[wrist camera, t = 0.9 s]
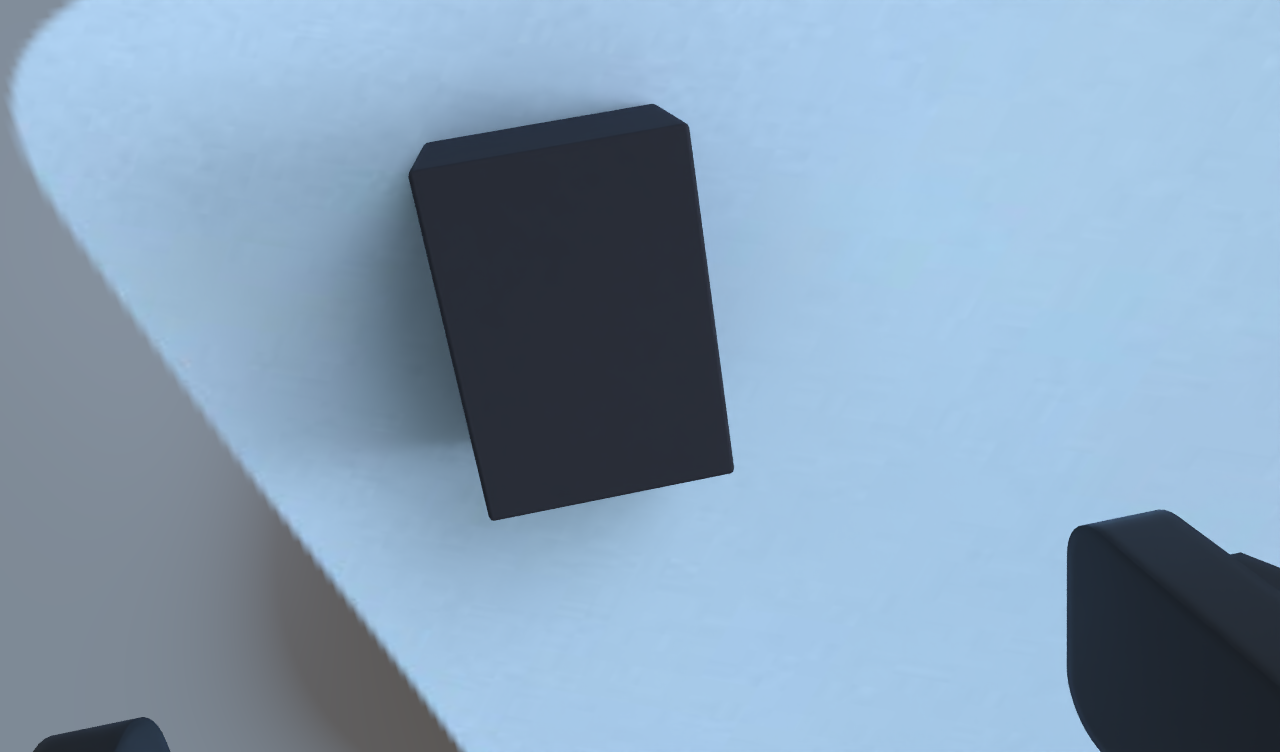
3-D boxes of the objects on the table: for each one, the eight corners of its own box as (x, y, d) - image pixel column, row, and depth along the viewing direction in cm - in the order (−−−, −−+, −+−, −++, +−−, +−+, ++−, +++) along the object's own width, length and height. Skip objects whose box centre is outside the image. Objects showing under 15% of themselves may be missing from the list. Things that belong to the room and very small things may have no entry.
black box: (422, 143, 21) (406, 172, 17) (656, 102, 21) (689, 122, 18) (491, 441, 23) (490, 523, 20) (698, 401, 24) (735, 474, 20)
